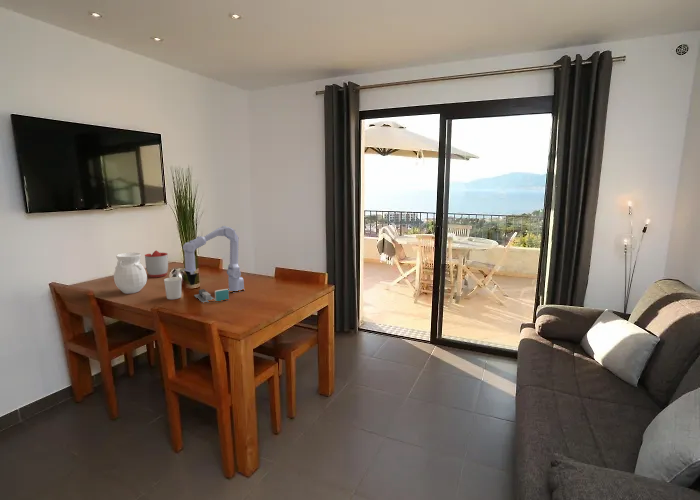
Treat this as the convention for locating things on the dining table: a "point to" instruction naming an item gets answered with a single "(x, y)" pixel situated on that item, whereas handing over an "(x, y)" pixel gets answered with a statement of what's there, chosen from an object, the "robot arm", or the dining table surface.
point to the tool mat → (202, 298)
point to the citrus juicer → (156, 264)
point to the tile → (221, 294)
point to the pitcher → (129, 273)
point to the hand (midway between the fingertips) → (191, 283)
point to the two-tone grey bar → (204, 294)
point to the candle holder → (173, 287)
